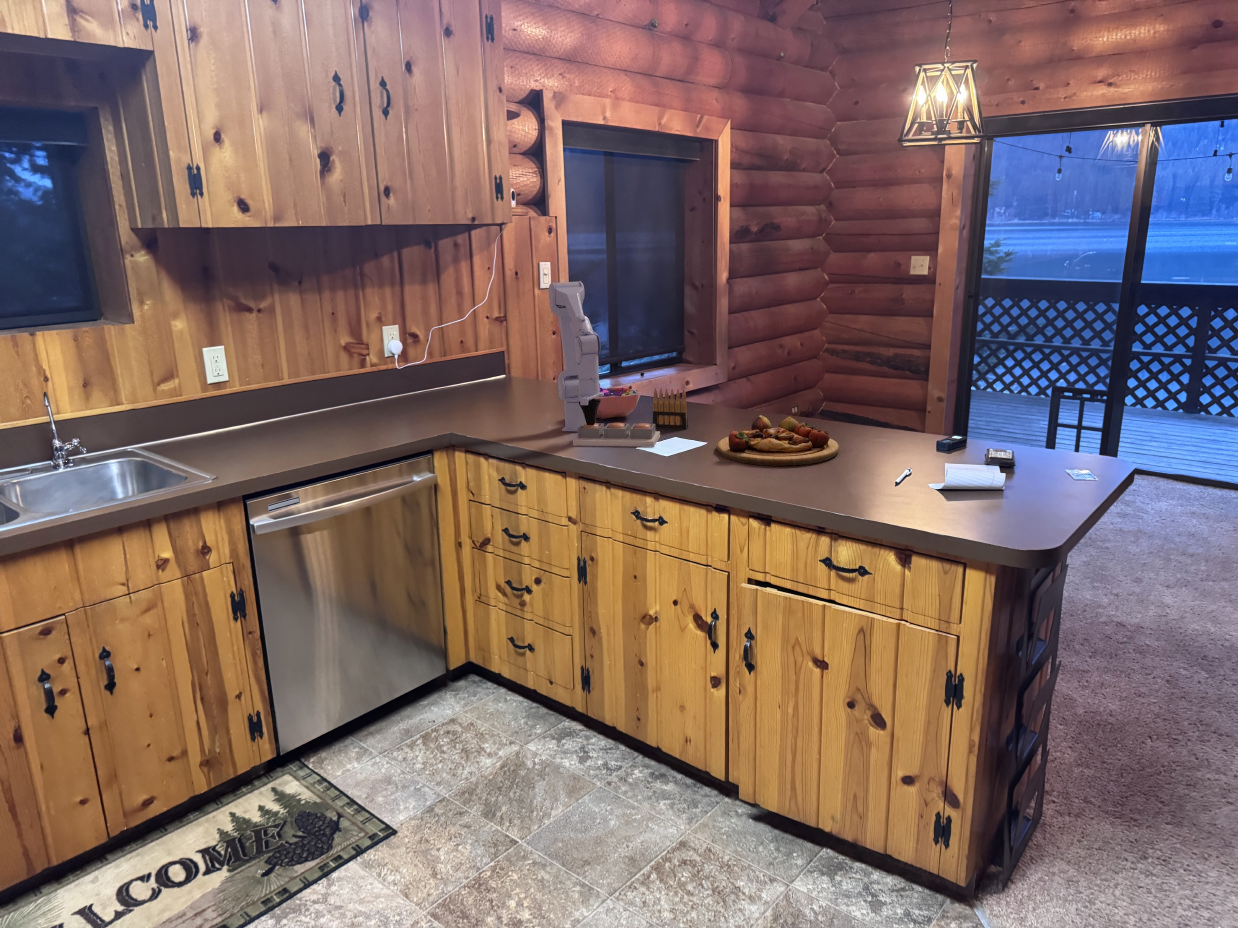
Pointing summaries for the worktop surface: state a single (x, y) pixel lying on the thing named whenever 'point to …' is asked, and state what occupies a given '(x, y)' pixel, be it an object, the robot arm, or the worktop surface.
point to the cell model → (616, 402)
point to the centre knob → (616, 425)
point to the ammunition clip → (670, 410)
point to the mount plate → (616, 436)
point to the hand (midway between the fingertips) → (590, 425)
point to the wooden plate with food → (778, 444)
